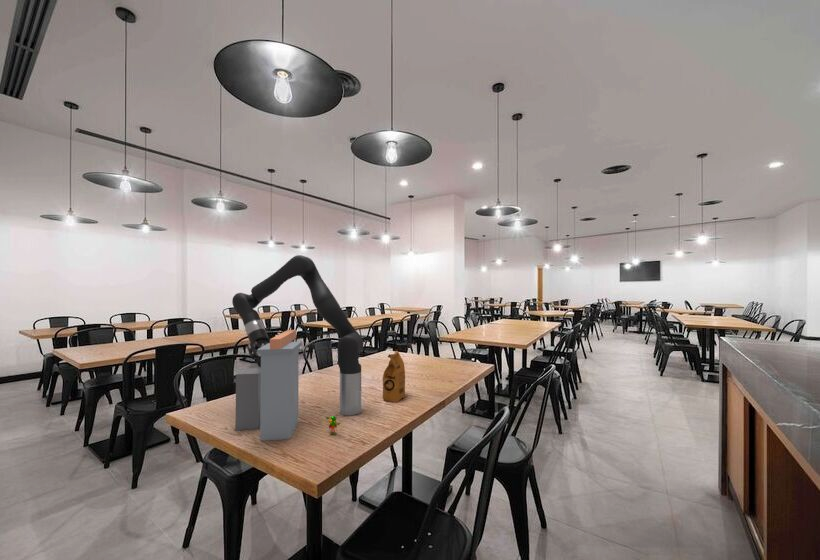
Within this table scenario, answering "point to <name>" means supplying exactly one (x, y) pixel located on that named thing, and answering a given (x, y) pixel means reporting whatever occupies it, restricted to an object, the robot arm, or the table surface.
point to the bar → (282, 339)
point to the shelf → (248, 398)
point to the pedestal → (279, 391)
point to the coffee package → (394, 379)
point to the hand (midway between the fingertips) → (269, 365)
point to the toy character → (333, 424)
